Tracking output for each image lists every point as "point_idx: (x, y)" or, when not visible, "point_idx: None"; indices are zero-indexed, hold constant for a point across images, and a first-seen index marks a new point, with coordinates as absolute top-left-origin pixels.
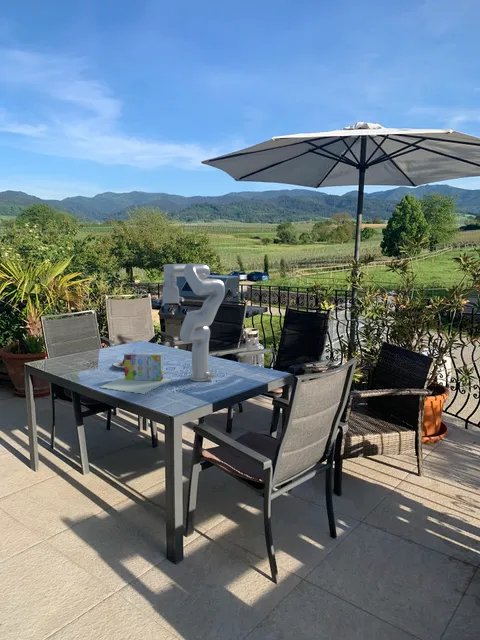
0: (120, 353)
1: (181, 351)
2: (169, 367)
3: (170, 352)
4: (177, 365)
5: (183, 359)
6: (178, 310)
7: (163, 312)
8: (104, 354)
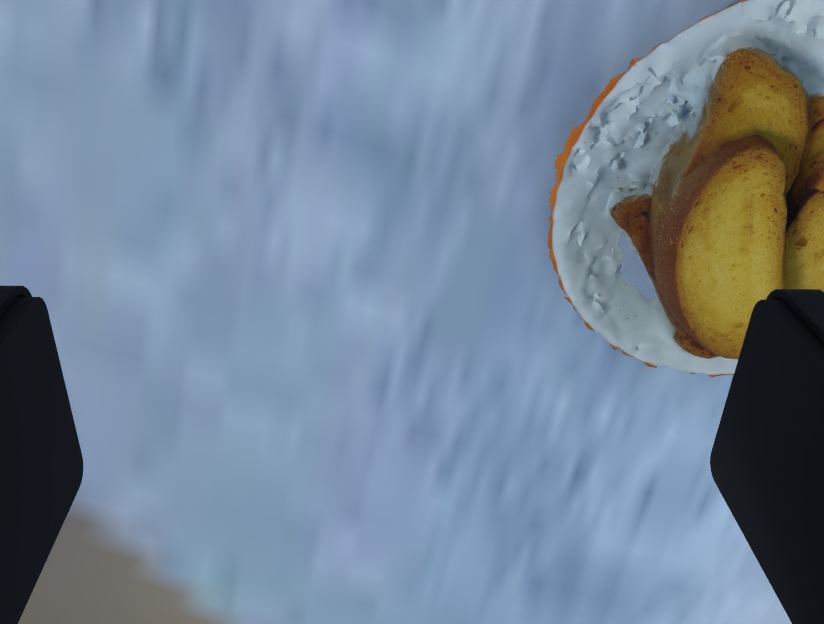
0: (699, 619)
1: (188, 564)
2: (407, 13)
3: (293, 557)
4: (301, 72)
5: (201, 298)
6: (15, 340)
7: (793, 292)
8: None
